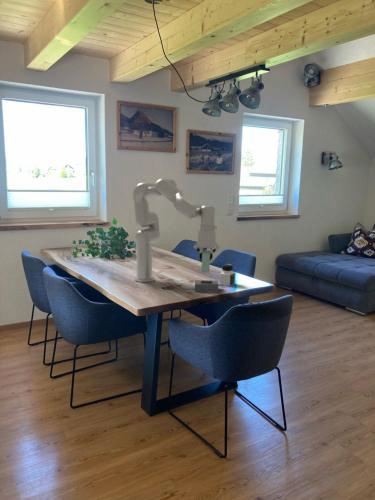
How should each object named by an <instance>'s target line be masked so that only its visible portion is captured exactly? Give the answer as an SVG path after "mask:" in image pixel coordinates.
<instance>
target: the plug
mask: <svg viewBox="0 0 375 500" xmlns="http://www.w3.org/2000/svg"><path fill="white" fill-rule="evenodd" d="M210 253H211V250H210V249H209V250H207V249H202V260H201V273H203V274H204V273H205V274H206V273H207V274H209V273H210V265H211V263H210V262H211V261H210Z"/></svg>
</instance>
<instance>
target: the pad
mask: <svg viewBox="0 0 375 500" xmlns="http://www.w3.org/2000/svg"><path fill="white" fill-rule="evenodd" d="M182 285H183V284H182ZM182 290H195V285H192V284H191V285H183V286H182Z"/></svg>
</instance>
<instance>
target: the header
mask: <svg viewBox="0 0 375 500" xmlns="http://www.w3.org/2000/svg"><path fill="white" fill-rule="evenodd" d="M194 282H195V283H194V286H195V289H194V293H219V281H218V280H215V279H214V280H212V279H211V280H208V279H207V280H202V279H195V281H194Z"/></svg>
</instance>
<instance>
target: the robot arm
mask: <svg viewBox="0 0 375 500" xmlns="http://www.w3.org/2000/svg"><path fill="white" fill-rule="evenodd" d="M183 194H184V193H183V191H182V190H181V189H180V188H179V187H178V186H177V182H176V181H175V180H174V179H172V178H160V179H158V180H157V181H156V182H154V181H153V182H150V181H149V182H147V181H143V182H140V183H137V185H136V186H135V187H134V188H133V191H132V198H133V206H134V216H135V217H134V218H135V224H136V225H137V226H138V227H140V228H143V229H140V230H137V232H135V235H134V241H135V243H134V244H135V248H136V249H135V250H136V276H135V277H134V278H133V280H134V281H135V282H139V283H148V282H149V283H151V282H154V281H155V279H156V278H155V277H154V276H153V249H152V247H151V244H155V243H157V242H158V241H159V239H160V237H161V236H160V221H159V217H158V214H157V213H156V212H155V211H153V210H150V207H149V202H148V200H147V197H149V198H151V197H159V196H163V197H165V199H167V200H168V201H169V202H171V203H172V204H173V206H174V208H175V209H176V211H177V212H178V213H180V214H181V215H182V216H184V217H185V218H186V219H189V220H190V219H197V218H200V228H199V230H198V235H197V241H196V243H195V244H194V245H193V248H194V249H195V250H196V251H197V252H198V253H199V259H200V261H202V250H203V249H209V250H210V251H211V253H210V262H211V261H212V260H213V256H214V255H213V254H214V253H215V252H217V251H218V250H219V249H220V247H219V245H218V244H217V241H216V239H217V238H216V237H217V235H216V230H215V229H217V226H216V225H215V211H216V210H215V209H216V208H215V206H213V205H203V204H199V203H197V204H195V203H194V204H190V203H189V202H188V201H186V200H185V199H184V197H183V196H184V195H183Z"/></svg>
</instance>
